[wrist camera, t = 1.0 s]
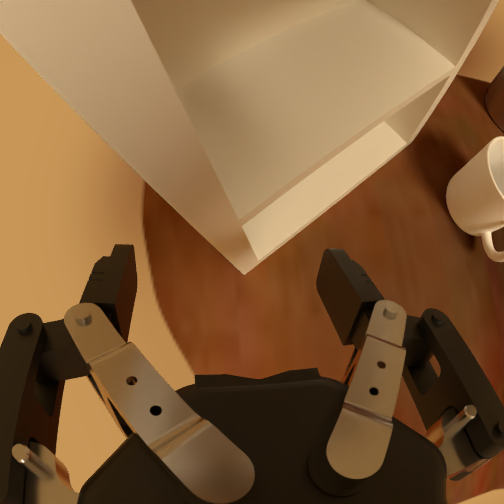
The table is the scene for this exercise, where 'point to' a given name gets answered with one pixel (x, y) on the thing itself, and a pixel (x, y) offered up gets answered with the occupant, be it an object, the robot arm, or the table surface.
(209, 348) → the table surface
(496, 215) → the cup
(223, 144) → the off-white shelf
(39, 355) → the robot arm
